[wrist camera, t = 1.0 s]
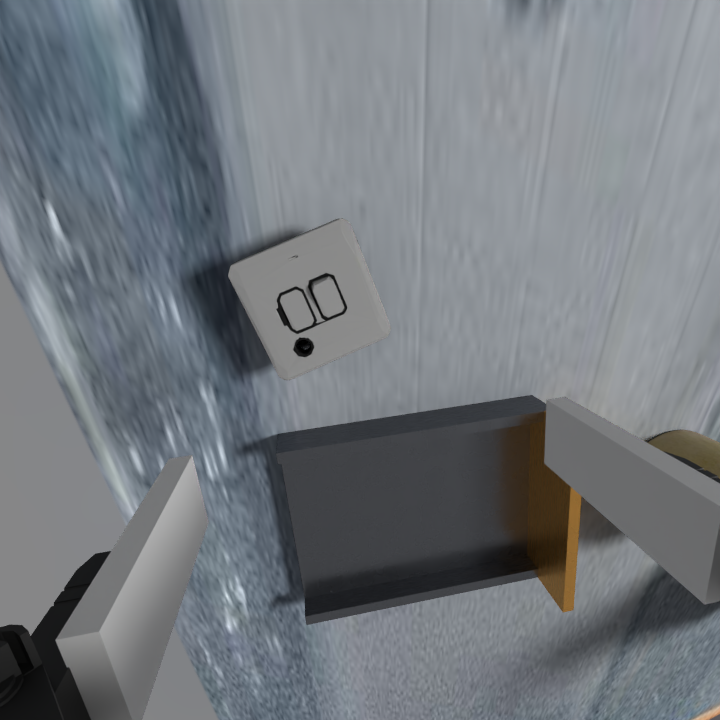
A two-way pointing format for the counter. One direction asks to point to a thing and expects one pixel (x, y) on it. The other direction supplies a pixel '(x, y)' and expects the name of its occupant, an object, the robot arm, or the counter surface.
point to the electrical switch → (311, 298)
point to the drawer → (428, 508)
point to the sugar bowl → (691, 448)
